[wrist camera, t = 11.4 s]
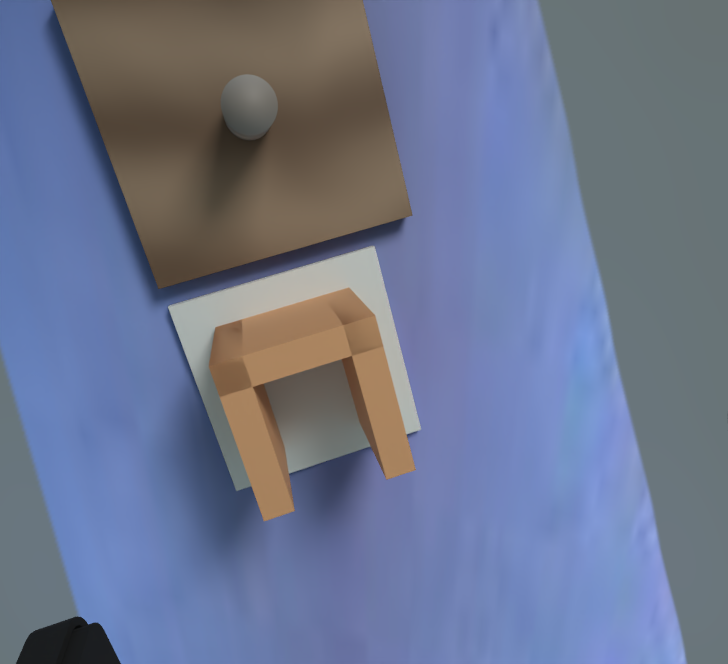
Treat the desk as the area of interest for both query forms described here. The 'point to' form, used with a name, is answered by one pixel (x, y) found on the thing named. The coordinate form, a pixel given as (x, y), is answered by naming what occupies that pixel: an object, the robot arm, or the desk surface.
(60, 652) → the robot arm
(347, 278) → the pad
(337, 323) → the c link
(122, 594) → the desk surface
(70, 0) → the stand
